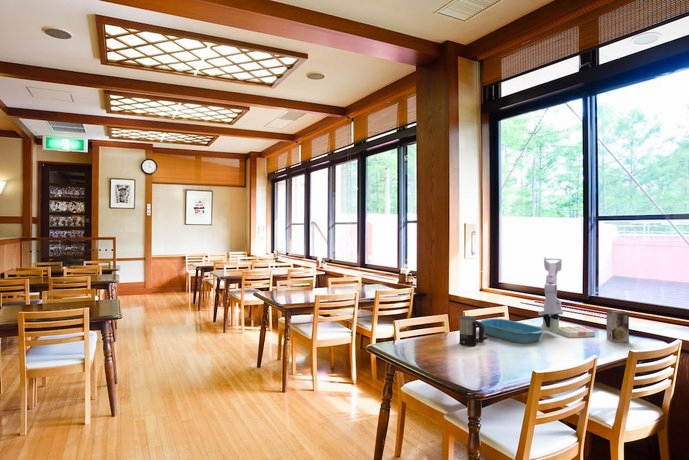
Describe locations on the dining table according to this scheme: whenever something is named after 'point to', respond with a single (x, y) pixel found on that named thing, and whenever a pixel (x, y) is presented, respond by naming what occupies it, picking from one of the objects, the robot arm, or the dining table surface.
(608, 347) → the dining table surface
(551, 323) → the blanking panel
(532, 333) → the casserole dish
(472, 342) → the milk frother
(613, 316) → the coffee box
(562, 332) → the slot rack
